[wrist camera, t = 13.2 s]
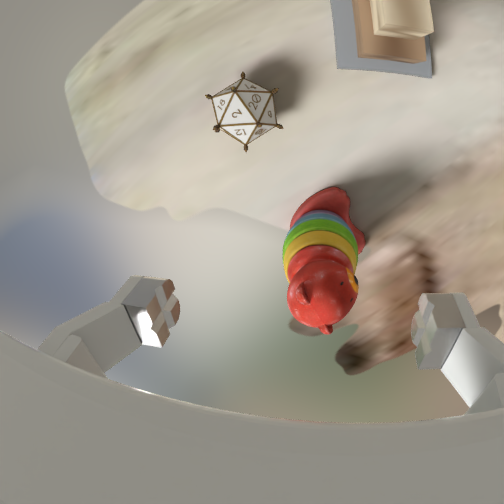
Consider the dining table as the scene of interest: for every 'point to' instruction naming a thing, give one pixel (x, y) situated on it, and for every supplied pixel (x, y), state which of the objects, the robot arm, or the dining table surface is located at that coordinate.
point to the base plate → (350, 60)
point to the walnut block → (383, 40)
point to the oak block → (402, 18)
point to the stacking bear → (322, 260)
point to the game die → (245, 110)
